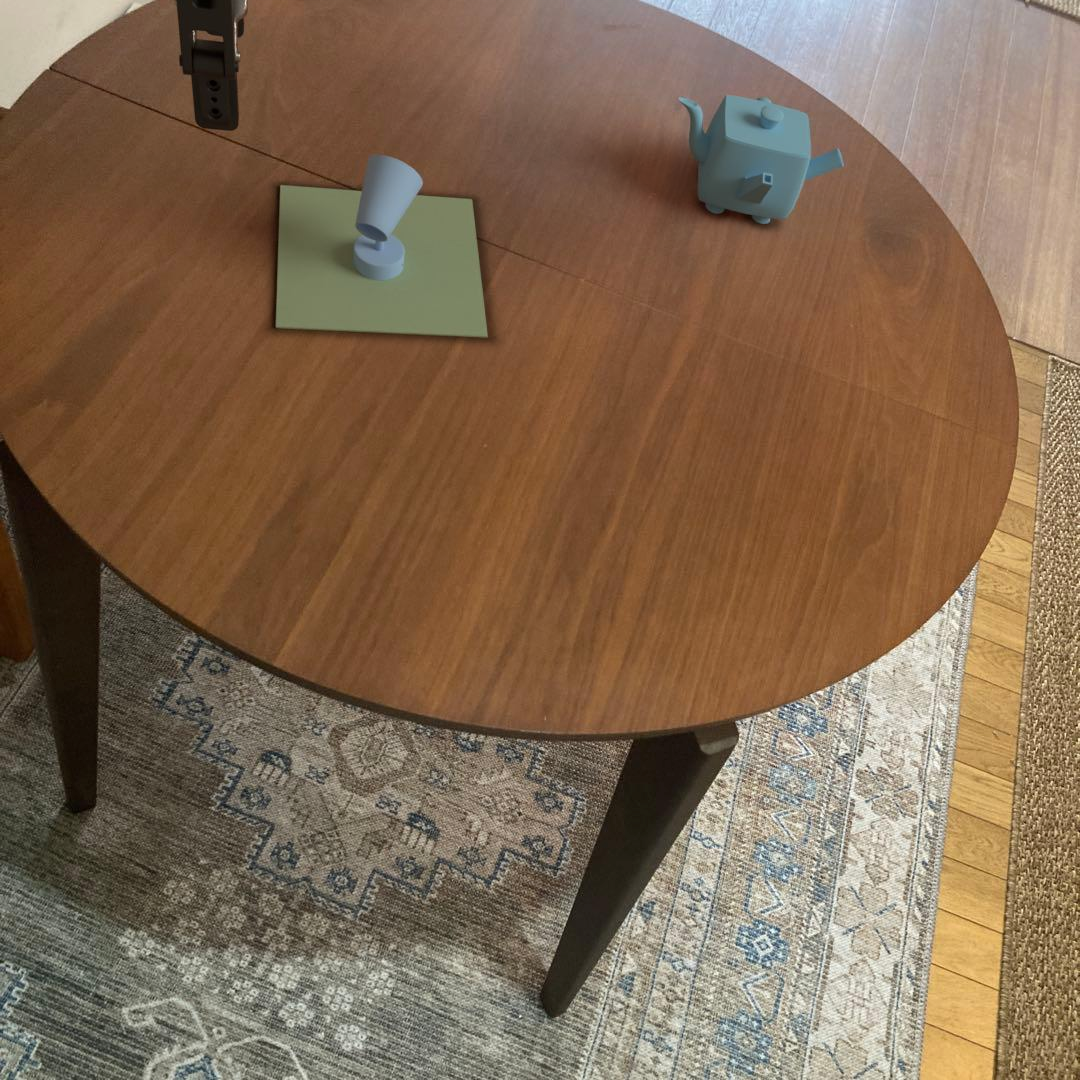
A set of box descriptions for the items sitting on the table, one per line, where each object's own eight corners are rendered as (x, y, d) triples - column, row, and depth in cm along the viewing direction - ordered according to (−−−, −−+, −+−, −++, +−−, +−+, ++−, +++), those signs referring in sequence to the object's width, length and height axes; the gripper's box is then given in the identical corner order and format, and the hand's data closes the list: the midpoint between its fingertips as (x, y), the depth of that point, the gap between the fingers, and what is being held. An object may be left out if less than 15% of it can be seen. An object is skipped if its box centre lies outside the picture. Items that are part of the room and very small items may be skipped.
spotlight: (368, 227, 95) (339, 274, 92) (373, 133, 87) (342, 181, 83) (419, 245, 95) (392, 292, 91) (429, 153, 87) (400, 201, 83)
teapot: (815, 178, 113) (855, 95, 104) (822, 264, 105) (865, 182, 96) (655, 141, 111) (683, 53, 103) (649, 226, 103) (678, 138, 95)
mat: (275, 328, 87) (275, 326, 87) (280, 186, 97) (280, 184, 96) (487, 337, 91) (487, 336, 91) (471, 200, 100) (472, 199, 100)
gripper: (122, -348, 47) (159, -2, 61) (86, -207, 40) (138, 153, 53) (291, -316, 49) (291, 14, 62) (288, -175, 41) (289, 166, 55)
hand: (221, 77), depth 58 cm, fingers open, 8 cm apart
